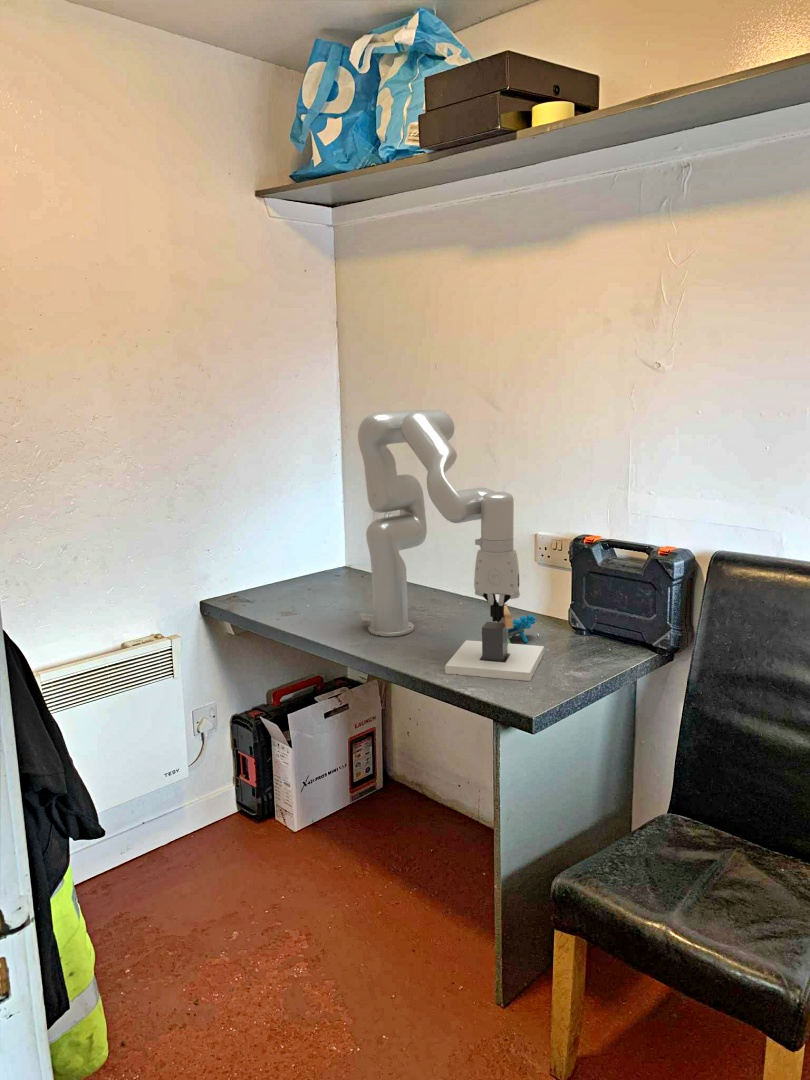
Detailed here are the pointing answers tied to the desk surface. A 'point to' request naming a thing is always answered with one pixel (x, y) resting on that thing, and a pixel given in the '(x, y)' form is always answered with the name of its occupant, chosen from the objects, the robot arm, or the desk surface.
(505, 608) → the clip
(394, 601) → the robot arm
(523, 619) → the blue spiky figurine
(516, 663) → the socket block
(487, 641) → the plug
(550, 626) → the desk surface
